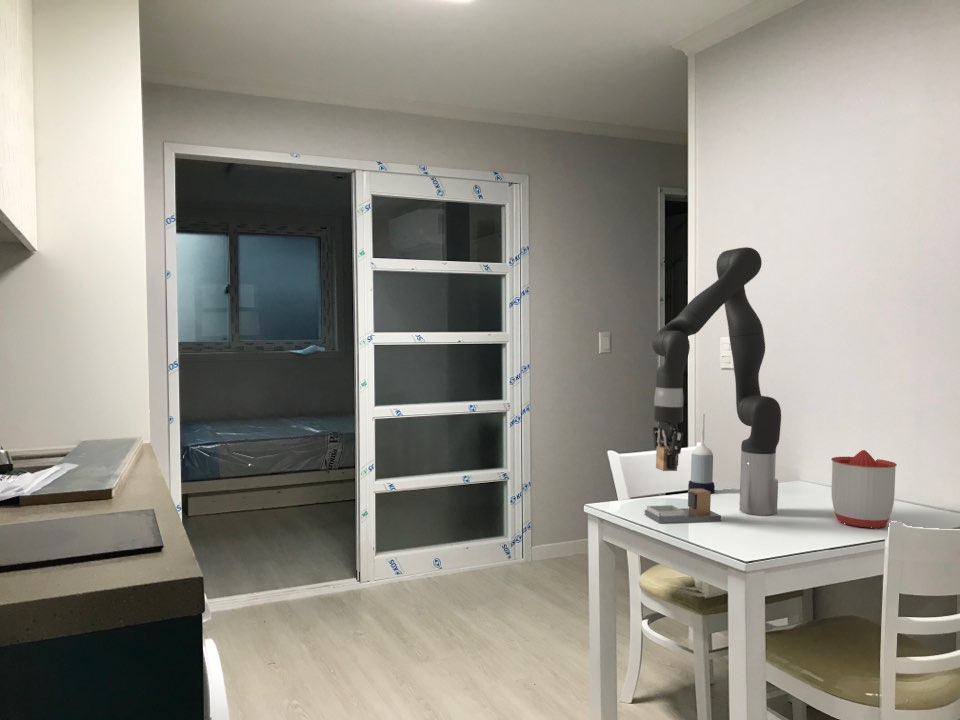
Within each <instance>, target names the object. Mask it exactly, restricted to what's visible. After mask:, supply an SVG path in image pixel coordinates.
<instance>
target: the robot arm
mask: <svg viewBox="0 0 960 720" xmlns="http://www.w3.org/2000/svg"><path fill="white" fill-rule="evenodd" d="M762 262H763V261H762V257H761V255H760V253H759V251H758V250H756V249H755V248H753V247H749V246H748V247H747V246H745V247H738V248H734V249H733V248H732V249H728V250H725V251H722V252H721V253H720V254H719V256H718V257H717V260H716V274H717V280H716V281H715V282H713V283H712V284H711V285H709V286H708V287H707V288H705V289H703V291H701V292H699V293H698V294H697V295H695V297H693V298H692V299H691V301H689V302H688V304H686V306H685V307H684V308H683V309H682V311H680V313H679V314H678V315H677V316H676V317H674V318H673V319H672V320H670V321H669V322H668V323H667V324H666V325H664V326H663V327H661V328H660V329H659V330H658V331H657V332H656V334H655V335H654V336H653V340H652V343H651V344H652V350H653V352H654V353H655V354H656V355H658V356H660V357H665V359H664V363H663V365H660V366H658V367H657V369H656V373H655V374H656V377H655V378H656V379H655V392H654V405H653V410H654V411H653V420H654V422H656V423H658V425H657V426H653V427H652V433H653V435H652V436H653V445H654V448H655V449H657V446H665V447H666V449H667V469H675V461H676V455H677V454H679V455H680V454H681V452H682V445H683V441H684V437H685V436H684V435H685V434H684V433H683V432H680V431H679V427H678V424H680V423H682V422H683V419H684V417H683V416H684V415H683V414H684V391H683V388H684V386H683V385H684V370H685V369H686V366H687V361H688V358H689V354H690V349H691V348H690V339H689V336H693V335H696V334H698V333H699V332H700V331H701V329H703V327H704V326H705V325H706V324H707V322H708V321H709V320H710V319H711V318H712V316H714V314H715V313H716V312H717V311H718V310H720V309H721V307H722V306H724V309H725V315H726V316H725V317H726V321H727V327H728V336H729V338H728V339H729V345H730V351H731V357H732V363H733V365H732V366H733V372H734V378H735V380H734V381H735V401H736V402H735V405H736V413H737V417H738V419H739V421H740V422H741V423H742V424H743V425H745V426H748V427H750V429H751V430H750V434H749V436H748V438H746V439H743V440H742V442H741V445H740V447H741V449H740V452H741V453H740V478H739V479H740V481H739V482H740V483H739V511H740V512H741V513H745V514H749V515H757V516H771V515H774V514H778V497H779V496H778V495H779V480H778V479H776V462H777V461H776V458H777V456H776V455H777V447H778V445H779V442H780V435H781V427H782V426H781V425H782V408H781V406H780V403H779V402H778V400H777V399H775V398H774V397H771V396H767V395H766V396H765V395H762V394H761V393H762V392H761V389H760V380H759V378H760V377H759V374H760V370H761V367H762V364H763V361H764V357H765V354H766V353H765V352H766V341H765V340H766V339H765V334H764V326H763V324H762V322H761V320H760V317H759V316H758V315H757V312H756V311H755V309H754V308H753V307H752V306H751V304H750V302H749V300H748V297H747V294H746V289H745V285H747V284H748V283H750V282H751V280H753V279H754V278H755V277H756V276H757V275H758V274H759V272H760V271H761V268H762ZM670 447H671V449H670Z"/></svg>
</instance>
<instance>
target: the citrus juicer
mask: <svg viewBox="0 0 960 720" xmlns="http://www.w3.org/2000/svg"><path fill="white" fill-rule="evenodd" d="M830 460H831V462H832V463H831V465H832V466H831V468H832V469H831V500H832V501H831V502H832V506H833V511H834V512H833V513H834V514H835V517H836V519H837V521H838V522H840V523H842V524H843V523H845V524H849V525H848V526H854V527H861V528H869V527H872V528H871V529H873V528H877V529H878V528H884V527H886V526H887V525H888V522H889V520H890V519H891V518H890V517H891V514H892V512H893V508H894V503H895V496H896V495H895V493H896V491H895V490H896V489H895V488H896V486H895V485H896V467H897V463H896V462H893V461H890V460H885V459H878V458H877V459H876V460H875V458H874V457H872V455H871V453H869V452H868V451H867V450H865V449H863V450H862V449H861V451H859V452H858V453H856V454H855V455H854V456H834V457H832V458H831V459H830ZM845 524H844V525H845Z"/></svg>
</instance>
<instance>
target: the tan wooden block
mask: <svg viewBox="0 0 960 720" xmlns="http://www.w3.org/2000/svg"><path fill="white" fill-rule="evenodd" d="M655 449H656V450H655V451H656V454H655V455H656V456H655V469H657V470H660V471H662V472H678V467H679V455H680V454H677V455H676V461H675V469H667V449H666V447H665V446H657V448H655ZM670 449H671V447H670Z"/></svg>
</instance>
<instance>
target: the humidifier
mask: <svg viewBox="0 0 960 720" xmlns="http://www.w3.org/2000/svg"><path fill="white" fill-rule="evenodd" d="M701 415H702V416H701V433H700V434H701V435H700V437H701V438H700V444H699V445H698V446H696V447H695V448H694V449H693V450H692V452H691V455H690V456H691V459H690V480H689V481H688V484H687V485H688V487H687V488H688V489H687V491H688V492H689V489H705V490H707V491H710V492H711V495H712V494H714V493H715V482H713V475H714V472H713V471H714V454H713V452H712V450H711V449H710V448H709V447H707V446H706V444H705V413H702V414H701Z"/></svg>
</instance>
